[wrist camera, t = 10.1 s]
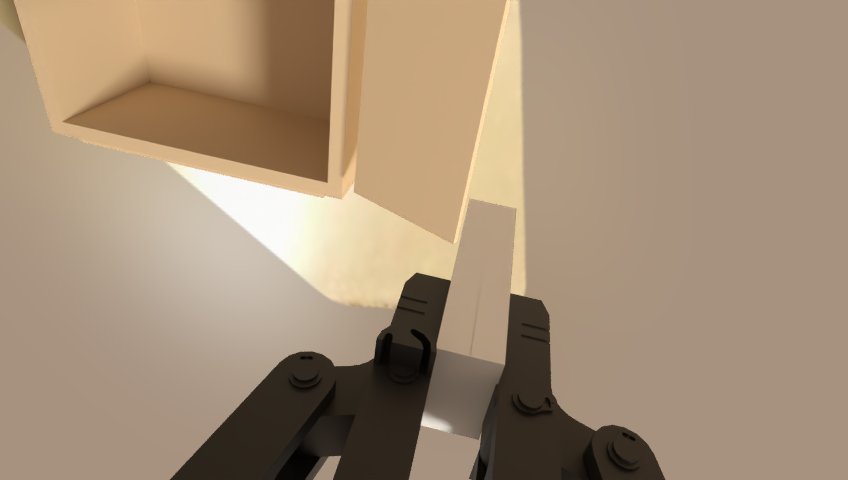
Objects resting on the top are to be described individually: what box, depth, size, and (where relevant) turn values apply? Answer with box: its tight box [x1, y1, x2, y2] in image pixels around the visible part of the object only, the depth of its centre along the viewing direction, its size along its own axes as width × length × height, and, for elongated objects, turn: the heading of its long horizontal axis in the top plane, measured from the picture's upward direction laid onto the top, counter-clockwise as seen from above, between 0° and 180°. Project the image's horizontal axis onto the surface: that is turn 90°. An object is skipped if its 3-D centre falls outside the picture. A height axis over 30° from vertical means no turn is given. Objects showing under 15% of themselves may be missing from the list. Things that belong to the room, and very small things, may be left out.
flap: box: [354, 0, 511, 244], centre depth 26 cm, size 8×14×1 cm, turn 171°
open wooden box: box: [14, 0, 368, 199], centre depth 34 cm, size 22×18×10 cm
